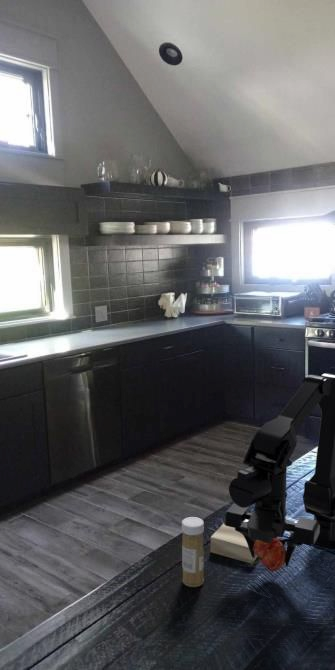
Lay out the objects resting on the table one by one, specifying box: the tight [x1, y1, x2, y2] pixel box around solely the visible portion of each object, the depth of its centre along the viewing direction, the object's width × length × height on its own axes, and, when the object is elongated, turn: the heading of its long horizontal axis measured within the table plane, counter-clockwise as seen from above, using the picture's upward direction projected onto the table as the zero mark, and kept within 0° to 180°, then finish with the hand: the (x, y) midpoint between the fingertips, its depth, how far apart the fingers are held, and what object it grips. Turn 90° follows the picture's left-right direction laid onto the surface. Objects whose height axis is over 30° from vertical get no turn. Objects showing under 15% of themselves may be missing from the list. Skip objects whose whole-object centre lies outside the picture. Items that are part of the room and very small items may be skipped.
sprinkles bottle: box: [181, 516, 205, 588], centre depth 117 cm, size 5×5×14 cm
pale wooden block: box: [210, 522, 259, 565], centre depth 131 cm, size 10×10×4 cm
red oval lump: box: [248, 537, 288, 572], centre depth 118 cm, size 7×7×10 cm
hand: (270, 561), depth 118 cm, fingers closed on red oval lump, 7 cm apart
